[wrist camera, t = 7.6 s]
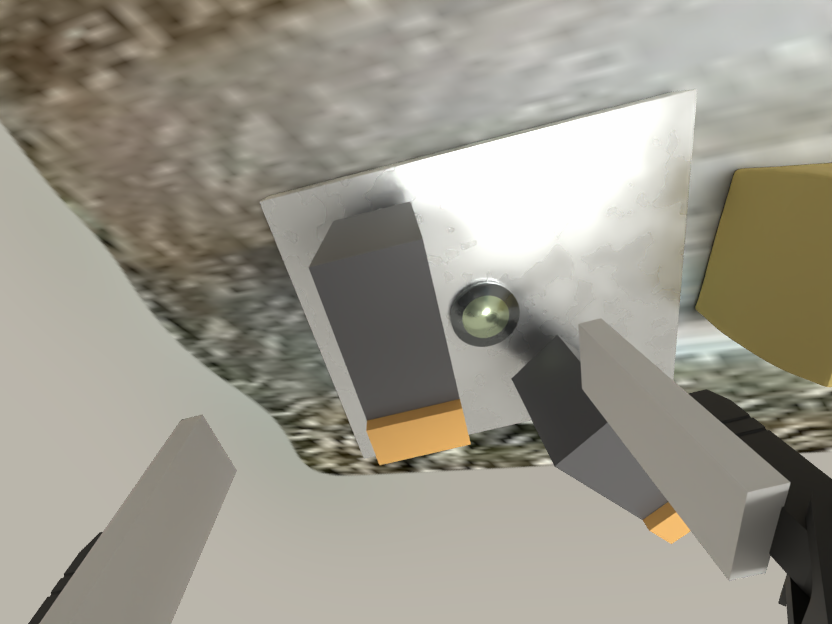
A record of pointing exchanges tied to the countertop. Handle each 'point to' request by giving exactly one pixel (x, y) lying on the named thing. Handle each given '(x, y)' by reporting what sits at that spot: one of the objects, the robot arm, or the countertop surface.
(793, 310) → the cheese
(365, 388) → the knob
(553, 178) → the level plate
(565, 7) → the countertop surface
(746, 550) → the robot arm
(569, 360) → the orange-capped gray block
